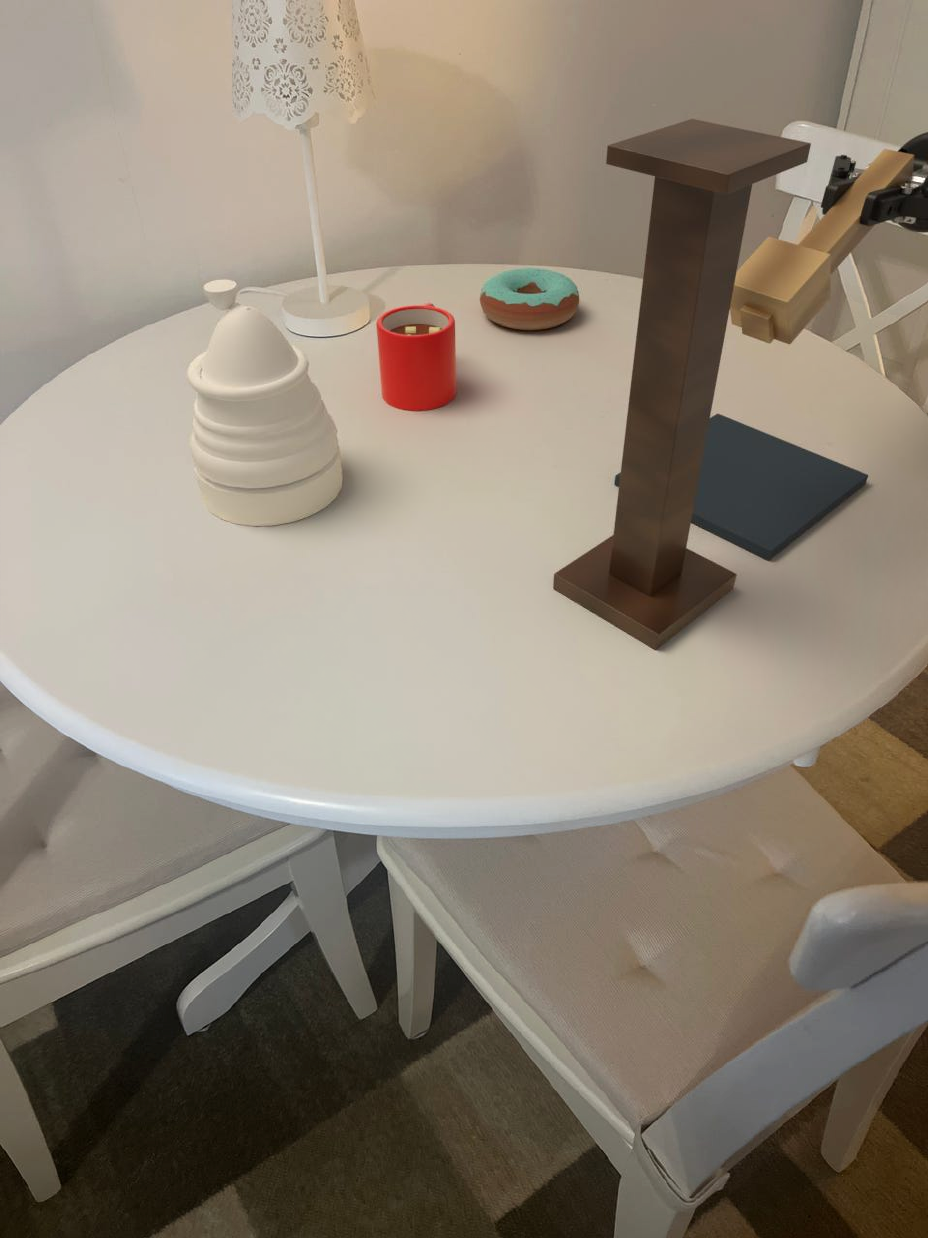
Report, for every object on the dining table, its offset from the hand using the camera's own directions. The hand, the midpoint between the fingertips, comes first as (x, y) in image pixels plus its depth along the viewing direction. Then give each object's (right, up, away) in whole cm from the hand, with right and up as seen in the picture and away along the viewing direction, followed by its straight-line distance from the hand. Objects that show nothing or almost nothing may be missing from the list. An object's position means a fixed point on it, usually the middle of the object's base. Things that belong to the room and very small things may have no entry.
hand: (848, 205), depth 67 cm
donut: (-20, +7, +45) cm, 50 cm away
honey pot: (-46, -18, +17) cm, 52 cm away
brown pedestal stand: (-14, -28, +5) cm, 32 cm away
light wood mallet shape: (-1, -3, +2) cm, 4 cm away
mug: (-32, -5, +32) cm, 46 cm away
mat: (-3, -18, +16) cm, 24 cm away
